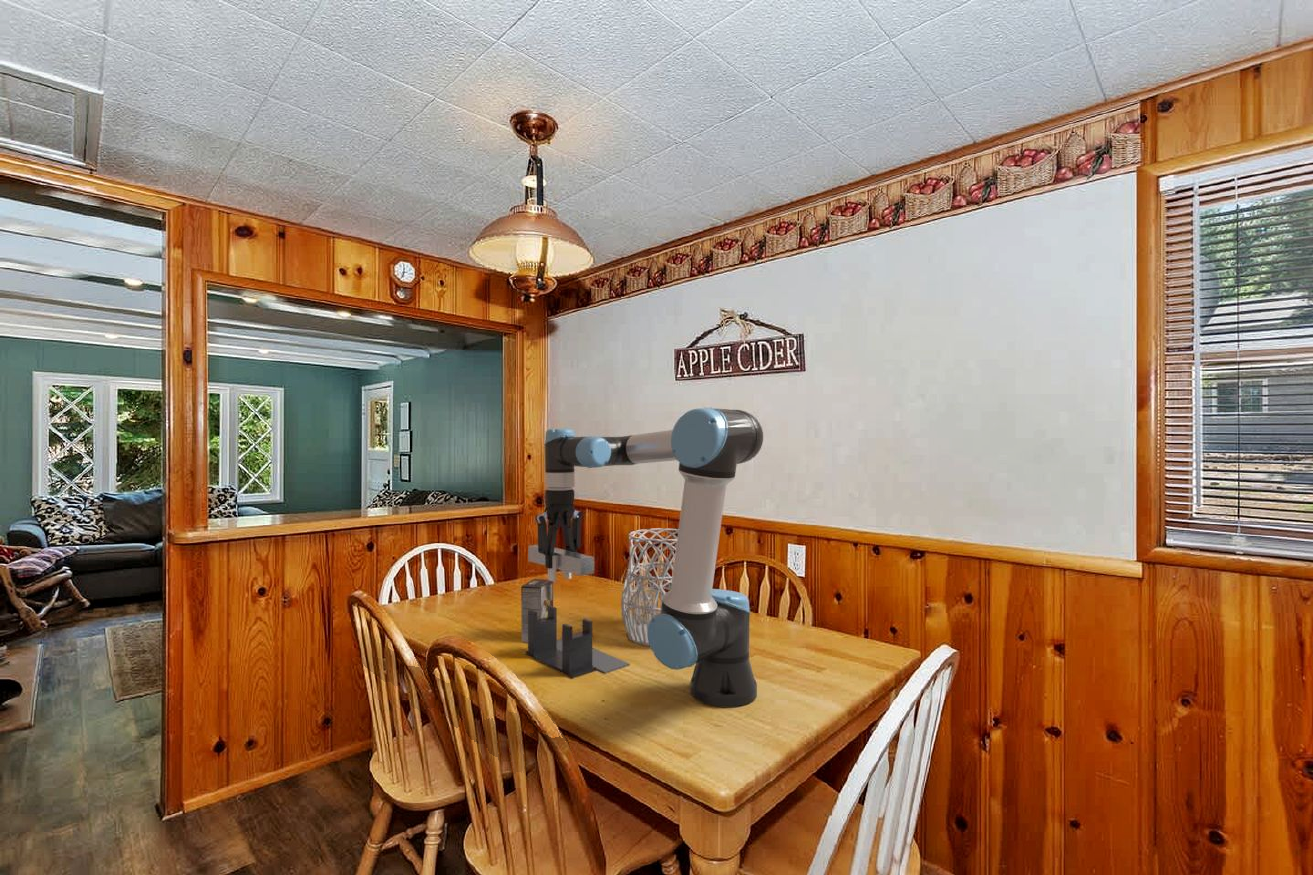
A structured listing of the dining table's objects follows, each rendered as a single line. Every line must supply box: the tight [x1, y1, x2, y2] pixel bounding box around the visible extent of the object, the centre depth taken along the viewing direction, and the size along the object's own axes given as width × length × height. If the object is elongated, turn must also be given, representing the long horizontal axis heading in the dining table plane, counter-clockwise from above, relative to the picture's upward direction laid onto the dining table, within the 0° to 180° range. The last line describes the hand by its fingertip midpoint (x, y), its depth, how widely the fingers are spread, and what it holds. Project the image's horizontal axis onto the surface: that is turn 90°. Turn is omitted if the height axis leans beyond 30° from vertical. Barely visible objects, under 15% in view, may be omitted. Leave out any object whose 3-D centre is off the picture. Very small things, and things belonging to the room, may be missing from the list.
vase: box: [620, 527, 679, 647], centre depth 177 cm, size 24×24×30 cm
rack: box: [524, 605, 597, 679], centre depth 156 cm, size 22×7×12 cm, turn 43°
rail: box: [527, 544, 595, 577], centre depth 155 cm, size 24×4×4 cm, turn 43°
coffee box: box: [520, 578, 554, 643], centre depth 174 cm, size 9×6×16 cm
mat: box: [557, 637, 631, 674], centre depth 161 cm, size 28×8×1 cm, turn 43°
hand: (559, 578), depth 155 cm, fingers closed on rail, 4 cm apart
